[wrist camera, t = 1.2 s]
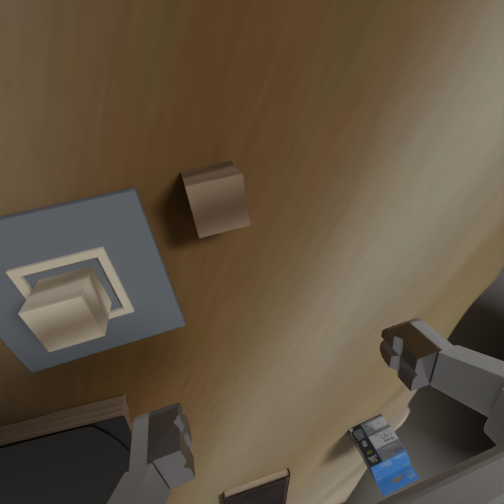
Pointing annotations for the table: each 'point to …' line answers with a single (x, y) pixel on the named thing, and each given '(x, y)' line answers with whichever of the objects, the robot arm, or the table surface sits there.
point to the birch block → (67, 309)
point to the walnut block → (217, 198)
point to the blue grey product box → (383, 454)
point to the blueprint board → (81, 256)
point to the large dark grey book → (66, 455)
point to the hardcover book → (261, 490)
